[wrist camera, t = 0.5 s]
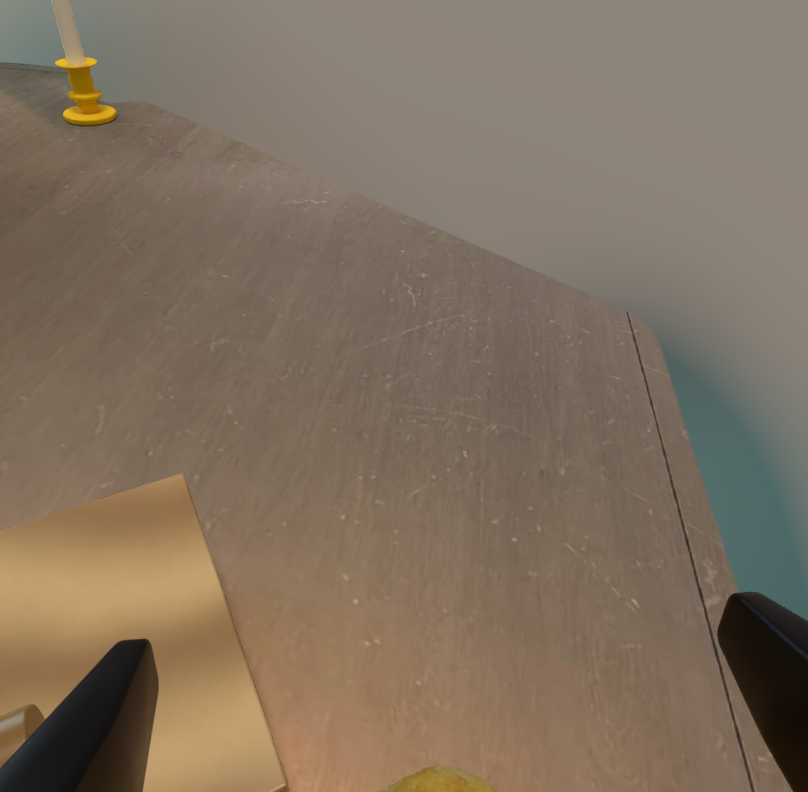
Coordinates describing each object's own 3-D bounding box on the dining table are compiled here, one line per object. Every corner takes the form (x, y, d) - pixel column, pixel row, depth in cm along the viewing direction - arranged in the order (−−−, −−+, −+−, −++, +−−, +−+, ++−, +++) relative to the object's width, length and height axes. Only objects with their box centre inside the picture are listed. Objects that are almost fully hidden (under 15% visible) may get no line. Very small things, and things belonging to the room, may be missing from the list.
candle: (117, 108, 69) (76, -65, 58) (116, 124, 65) (72, -58, 55) (66, 110, 67) (14, -67, 57) (62, 126, 64) (6, -59, 53)
